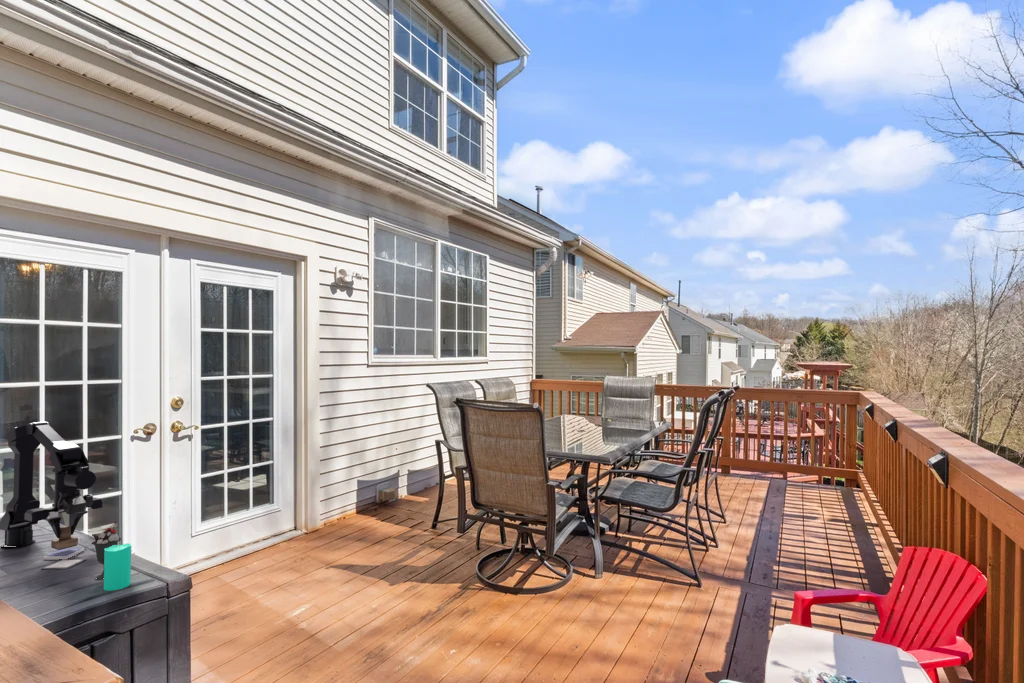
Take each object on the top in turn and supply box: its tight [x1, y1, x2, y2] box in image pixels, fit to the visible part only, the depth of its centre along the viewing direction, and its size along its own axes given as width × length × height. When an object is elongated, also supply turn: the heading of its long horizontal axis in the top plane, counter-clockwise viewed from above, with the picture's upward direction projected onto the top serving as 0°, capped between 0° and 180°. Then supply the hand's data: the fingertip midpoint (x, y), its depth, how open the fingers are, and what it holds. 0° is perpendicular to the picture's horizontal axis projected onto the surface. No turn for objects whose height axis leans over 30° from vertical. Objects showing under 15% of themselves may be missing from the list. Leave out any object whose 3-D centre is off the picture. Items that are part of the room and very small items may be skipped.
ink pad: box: [43, 547, 85, 561], centre depth 169 cm, size 7×7×1 cm
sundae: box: [91, 521, 122, 579], centre depth 152 cm, size 7×7×15 cm
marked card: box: [40, 558, 87, 570], centre depth 161 cm, size 8×8×1 cm
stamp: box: [50, 524, 79, 551], centre depth 169 cm, size 5×5×6 cm
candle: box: [103, 541, 132, 592], centre depth 145 cm, size 6×6×12 cm
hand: (64, 536), depth 169 cm, fingers closed on stamp, 3 cm apart
